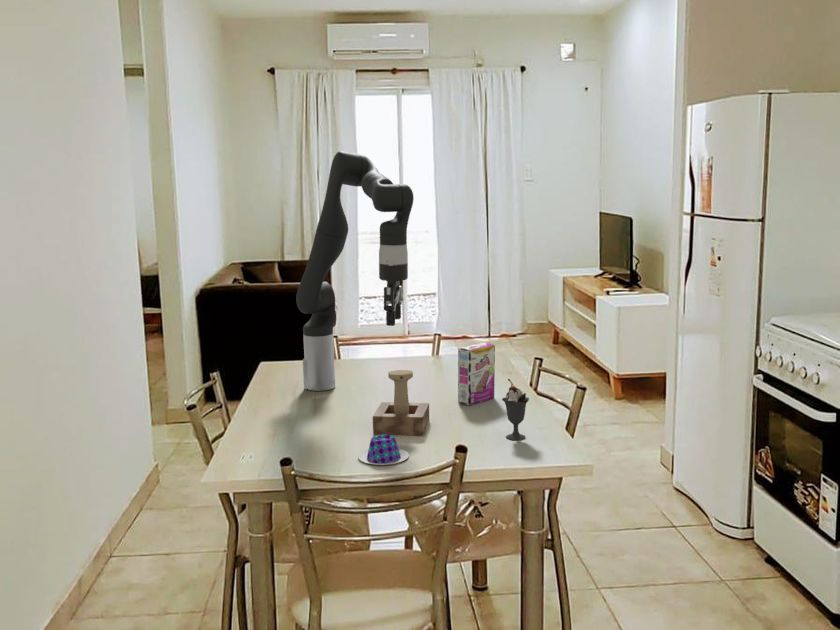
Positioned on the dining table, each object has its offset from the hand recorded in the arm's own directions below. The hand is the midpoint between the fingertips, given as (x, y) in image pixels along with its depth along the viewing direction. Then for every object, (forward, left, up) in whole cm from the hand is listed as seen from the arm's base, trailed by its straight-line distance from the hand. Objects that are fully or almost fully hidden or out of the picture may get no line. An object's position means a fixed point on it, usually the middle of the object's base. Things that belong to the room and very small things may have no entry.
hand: (393, 322), depth 224 cm
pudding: (+2, -28, -28) cm, 40 cm away
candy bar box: (+20, +22, -28) cm, 41 cm away
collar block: (+2, -5, -27) cm, 28 cm away
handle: (+2, -5, -28) cm, 28 cm away
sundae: (+32, -11, -28) cm, 44 cm away
